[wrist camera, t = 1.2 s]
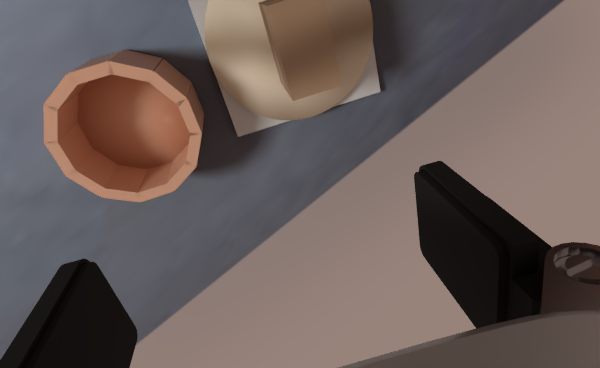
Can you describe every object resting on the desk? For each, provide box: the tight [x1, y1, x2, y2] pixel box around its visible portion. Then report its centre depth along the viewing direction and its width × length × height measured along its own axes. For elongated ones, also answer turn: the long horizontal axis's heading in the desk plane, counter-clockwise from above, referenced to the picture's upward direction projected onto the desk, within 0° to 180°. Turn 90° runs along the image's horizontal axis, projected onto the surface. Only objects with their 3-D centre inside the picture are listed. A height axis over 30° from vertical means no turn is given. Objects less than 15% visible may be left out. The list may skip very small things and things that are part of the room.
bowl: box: [43, 50, 204, 202], centre depth 28 cm, size 10×10×5 cm
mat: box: [188, 0, 380, 137], centre depth 30 cm, size 13×13×1 cm
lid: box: [204, 0, 373, 120], centre depth 27 cm, size 13×13×6 cm
